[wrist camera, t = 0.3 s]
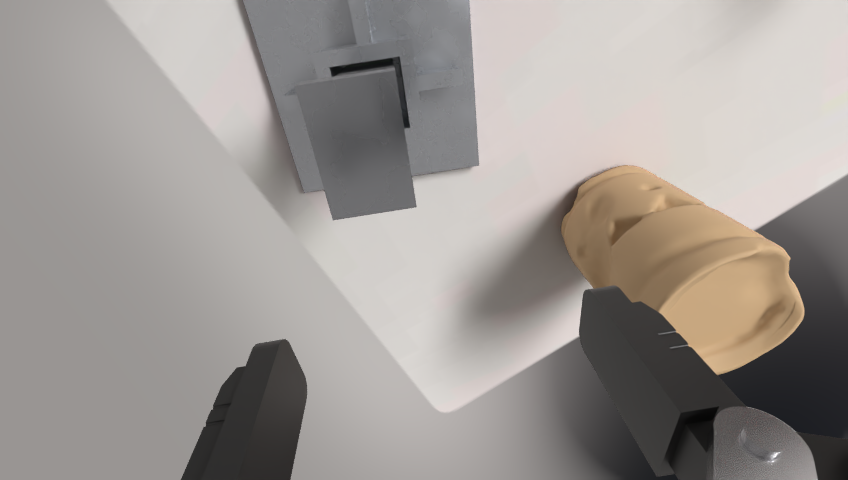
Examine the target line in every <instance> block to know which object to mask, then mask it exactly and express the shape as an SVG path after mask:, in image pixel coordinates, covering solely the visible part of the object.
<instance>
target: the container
mask: <svg viewBox="0 0 848 480" xmlns="http://www.w3.org/2000/svg"><path fill="white" fill-rule="evenodd" d="M561 233H562V236H563V238H564V242H565V245H566V248H567V250H568V253H569V255H570V257H571V259H572V261H573V263H574V264H575V265H576V266H577V268H578V269H579V270H580V272H581V273H582V274H583V275H584V277H585V278H586V279H587V281H588V282H589V283H590V284H591V285H592V287H593V288H600V287H606V286H612V285H615V286H617V287H619V288H620V289H621V290H622V291H623V293H624V294H625V295H626V296H627V297H628V299H629V300H630V301H631V302H632V303H633V302H639V301H641V302H643V303H644V304H646V305H648V306H649V307H651V308H653V309H654V310H656V311H658V312H659V313H661V314H662V315H663V316H664V317H665V318H666V320H667V321H668V322H669V323H670V324H671V325H672V326H673V327H674V328H675V329H676V333H679V334H680V335H681V336H682V337H683V338H684V339H685V340H686V342H687V343H688V346H689V347H692V348H693V349H694V350H695V351H696V353H697V354H698V355H699V356H700V357H701V358H702V359H703V360H704V361H705V362H706V364H707V365H708V366H709V367H710V368H711V369H712V370H713V371H714V372H715V373H716V375H718V374H723V373H726V372H729V371H732V370H734V369H736V368H739V367H741V366H743V365H745V364H747V363H748V362H750V361H752V360H754V359H756V358H757V357H759V356H760V355H762V354H764V353H766V352H768V351H769V350H771V349H772V348H774V347H776V346H777V345H778V344H780V343H782V342H783V341H784V340H785V339H786V338H788V337H789V336H790V335H791V334H792V333H793V332H794V331H795V329H796V328H797V327H798V325H799V324H800V323H801V321H802V319H803V317H804V307H803V303H802V300H801V297H800V294H799V291H798V289H797V287H796V285H795V284H794V282H793V281H792V280H791V279H790V277H789V274H788V271H789V260H790V257H789V256H788V254H787V253H786V251H785V250H784V249H783V248H782V247H780V246H779V245H777V244H775V243H774V242H772V241H770V240H767V239H766V238H765V237H763V236H762V235H760V234H758V233H757V232H755V231H753V230H751V229H749V228H748V227H746V226H744V225H742V224H741V223H739V222H737V221H735V220H734V219H732V218H730V217H728V216H727V215H725V214H723V213H721V212H719V211H717V210H715V209H712V208H710V207H708V206H706V205H705V204H704V203H703V202H702V201H700V200H698V199H696V198H695V197H693V196H691V195H689V194H688V193H686V192H684V191H682V190H681V189H679V188H677V187H675V186H674V185H672V184H670V183H668V182H666V181H665V180H663V179H661V178H659V177H657V176H656V175H654V174H652V173H651V172H649V171H647V170H645V169H643V168H640V167H636V166H628V165H624V166H618V167H615V168H612V169H610V170H607V171H605V172H603V173H601V174H599V175H597V176H595V177H592V178H590V179H589V180H587V181H586V182H585V183H584V184H582V185H581V186H580V187H579V189H578V194H577V198H576V200H575V202H574V206H573V208H572V209H571V211H570V212H569V213H567V214H566V215H565V217H564V218H563V221H562V225H561Z"/></svg>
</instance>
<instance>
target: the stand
mask: <svg viewBox="0 0 848 480" xmlns="http://www.w3.org/2000/svg"><path fill="white" fill-rule="evenodd" d="M243 2H244V5H245V8H246V11H247V14H248V18H249V21H250V24H251V27H252V30H253V33H254V37H255V40H256V43H257V46H258V49H259V52H260V55H261V59H262V62H263V65H264V68H265V71H266V74H267V77H268V81H269V84H270V87H271V90H272V93H273V96H274V99H275V103H276V106H277V109H278V112H279V115H280V118H281V121H282V125H283V128H284V131H285V134H286V137H287V140H288V143H289V147H290V150H291V153H292V156H293V159H294V162H295V165H296V169H297V172H298V175H299V178H300V181H301V184H302V187H303V191H304V193H306V192H312V191H318V190H324V187H323V184H322V180H321V177H320V173H319V170H318V166H317V163H316V159H315V156H314V152H313V149H312V145H311V142H310V138H309V135H308V131H307V128H306V124H305V121H304V117H303V114H302V110H301V107H300V103H299V100H298V97H297V93H296V90H295V85H296V84H298V83H299V82H301V81H308V80H315V79H321V78H328V77H334V76H336V75H337V74H338V73H339V72H340V71H341V70H342V69H343V68H344V67H345V66H346V65H349V64H356V63H362V62H369V61H375V60H382V59H388V58H393V63H394V67H395V72H396V79H397V85H398V92H399V98H400V104H401V111H402V117H403V124H404V130H405V136H406V143H407V149H408V156H409V162H410V168H411V175H412V176H415V175H421V174H427V173H434V172H440V171H447V170H453V169H459V168H466V167H472V166H479V158H478V141H477V124H476V107H475V90H474V73H473V56H472V39H471V22H470V5H469V0H243Z"/></svg>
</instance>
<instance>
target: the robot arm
mask: <svg viewBox="0 0 848 480" xmlns="http://www.w3.org/2000/svg"><path fill="white" fill-rule="evenodd" d="M579 335H580V341H581V345H582V348H583V350H584V352H585V354H586V356H587V358H588V359H589V361H590V363H591V364H592V366H593V368H594V370H595V371H596V373H597V375H598V376H599V378H600V380H601V382H602V383H603V385H604V387H605V389H606V390H607V392H608V394H609V395H610V397H611V399H612V400H613V402H614V404H615V406H616V407H617V409H618V411H619V413H620V414H621V416H622V418H623V419H624V421H625V423H626V425H627V426H628V428H629V430H630V431H631V433H632V435H633V436H634V438H635V440H636V442H637V443H638V445H639V447H640V449H641V450H642V452H643V454H644V455H645V457H646V459H647V460H648V462H649V464H650V466H651V467H652V469H653V471H654V473H655V474H656V476H657V477H659V476H665V475H670V474H676V476H677V478H678V479H679V480H848V439H842V438H834V437H826V436H819V435H813V434H805V433H800V432H795V431H794V430H793V429H792V428H791V427H789V426H788V425H787V424H785V423H784V422H783V421H781V420H779V419H777V418H776V417H774V416H772V415H770V414H768V413H765V412H762V411H760V410H756V409H753V408H748V407H746V406H745V405H744V404H743V403H742V402H741V401H740V400H739V399H738V398H737V397H736V396H735V394H734V393H733V392H732V391H731V390H730V389H729V388H728V387H727V386H726V384H725V383H724V382H723V381H722V380H721V379H720V378H719V377H718V376H717V375H716V373H715V372H714V371H713V370H712V369H711V368H710V367H709V366H708V365H707V364H706V362H705V361H704V360H703V359H702V358H701V357H700V356H699V355H698V354H697V353H696V351H695V350H694V349H693V348H692V347H689V346H688V343H687V342H686V340H685V339H684V338H683V337H682V336H681V335H680V334H679V333H676V329H675V328H674V327H673V326H672V325H671V324H670V323H669V322H668V321H667V320H666V318H665V317H664V316H663V315H662V314H661V313H659V312H658V311H656V310H654V309H653V308H651V307H649V306H648V305H646V304H644V303H643V302H641V301H639V302H633V303H632V302H631V301H630V300H629V299H628V297H627V296H626V295H625V294H624V293H623V291H622V290H621V289H620V288H619V287H617V286H615V285H612V286H606V287H600V288H594V289H588V290H585V291H584V294H583V300H582V309H581V318H580V327H579ZM306 399H307V383H306V378H305V375H304V373H303V371H302V369H301V367H300V364H299V362H298V360H297V358H296V356H295V354H294V352H293V350H292V348H291V345H290V343H289V342H288V341H287V340H286V339H283V340H277V341H271V342H265V343H259V344H256V345H255V346H254V347H253V349H252V351H251V354H250V356H249V359H248V362H247V364H246V366H244V367H238V368H236V369H235V371H234V372H233V373H232V374H231V375H230V377H229V378H228V379H227V380H226V381H225V383H224V384H223V385H222V387H221V389H220V391H219V393H218V396H217V398H216V400H215V403H214V405H213V410H211V412H210V414H209V416H208V419H207V421H206V427H204V428H203V430H202V432H201V435H200V437H199V439H198V442H197V444H196V446H195V449H194V451H193V453H192V455H191V458H190V460H189V462H188V465H187V467H186V469H185V472H184V474H183V476H182V479H181V480H290V479H291V474H292V469H293V464H294V459H295V454H296V449H297V443H298V439H299V434H300V429H301V424H302V419H303V414H304V409H305V404H306Z"/></svg>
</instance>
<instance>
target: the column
mask: <svg viewBox="0 0 848 480" xmlns="http://www.w3.org/2000/svg"><path fill="white" fill-rule="evenodd" d="M295 90H296V93H297V97H298V100H299V103H300V107H301V110H302V114H303V117H304V121H305V124H306V128H307V131H308V135H309V138H310V142H311V145H312V149H313V152H314V156H315V159H316V163H317V166H318V170H319V173H320V177H321V180H322V184H323V187H324V191H325V194H326V198H327V201H328V204H329V208H330V211H331V215H332V218H333V220H338V219H344V218H351V217H357V216H363V215H370V214H376V213H382V212H389V211H395V210H402V209H408V208H414V207H416V200H415V194H414V188H413V181H412V175H411V168H410V162H409V156H408V149H407V143H406V136H405V130H404V124H403V117H402V111H401V104H400V98H399V92H398V85H397V79H396V72H395V67H394V63H393V58H388V59H382V60H375V61H369V62H362V63H356V64H349V65H346V66H345V67H344V68H343V69H342V70H341V71H340V72H339V73H338V74H337V75H336V76H334V77H328V78H321V79H315V80H308V81H301V82H299V83H298V84H296V85H295Z"/></svg>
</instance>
